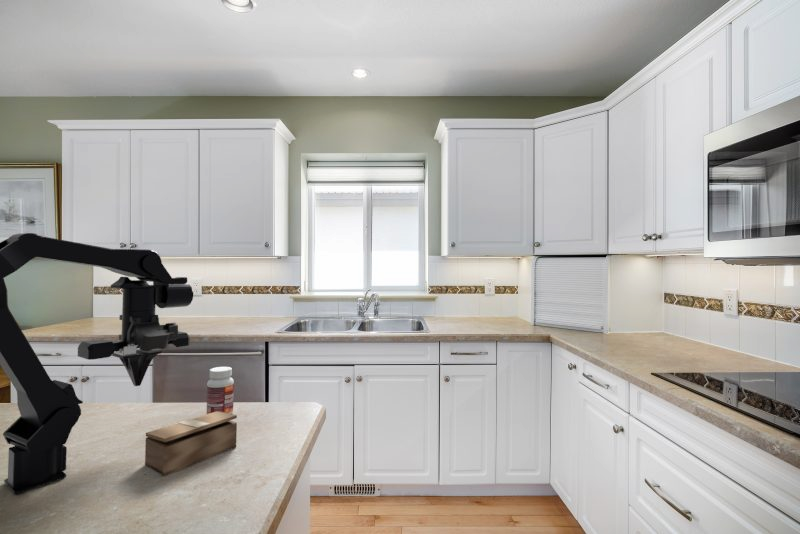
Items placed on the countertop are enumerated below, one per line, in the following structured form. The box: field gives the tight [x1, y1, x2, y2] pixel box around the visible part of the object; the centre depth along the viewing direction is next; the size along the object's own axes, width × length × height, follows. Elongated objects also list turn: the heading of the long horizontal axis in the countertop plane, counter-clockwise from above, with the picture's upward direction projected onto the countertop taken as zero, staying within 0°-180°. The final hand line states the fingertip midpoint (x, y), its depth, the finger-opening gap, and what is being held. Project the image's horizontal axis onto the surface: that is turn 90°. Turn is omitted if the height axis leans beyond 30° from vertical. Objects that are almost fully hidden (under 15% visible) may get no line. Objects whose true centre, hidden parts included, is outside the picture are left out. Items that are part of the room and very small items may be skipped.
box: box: [144, 420, 238, 477], centre depth 76 cm, size 14×7×5 cm, turn 147°
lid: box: [145, 411, 238, 442], centre depth 76 cm, size 14×7×1 cm, turn 147°
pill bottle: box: [206, 366, 235, 414], centre depth 99 cm, size 6×6×11 cm
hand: (137, 385), depth 81 cm, fingers closed
